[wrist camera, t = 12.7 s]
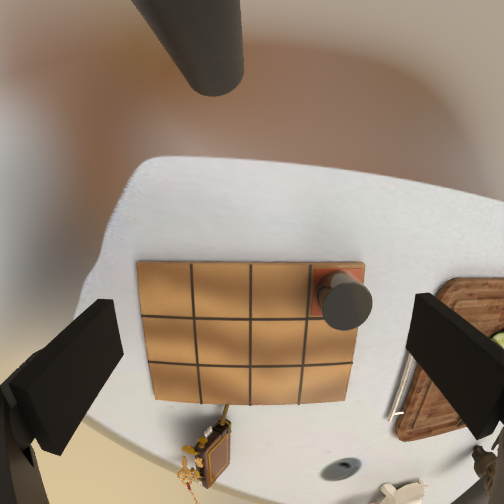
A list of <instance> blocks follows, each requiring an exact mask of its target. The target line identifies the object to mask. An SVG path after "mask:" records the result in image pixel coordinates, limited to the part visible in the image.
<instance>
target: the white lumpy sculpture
mask: <svg viewBox="0 0 504 504" xmlns="http://www.w3.org/2000/svg"><path fill="white" fill-rule="evenodd" d="M427 487H428V486H427V485H424V483H423V481H421V480H420V479H419V480H418V484H416V483H414V484H408V485H406V486H403V487H402V488H400V489H398V490H396V489H395V488H394V487H393V486H392V485H391V484H388V483H385V484H383V486H382V487H381V491H382V492H383V493H384V494H385V495H386V497H385V498H384V499H383V500H382V502H381V503H370V504H420V503H421V501H422V497H423V496H424V490H425V489H426V488H427Z"/></svg>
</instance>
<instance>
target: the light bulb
mask: <svg viewBox="0 0 504 504" xmlns="http://www.w3.org/2000/svg"><path fill="white" fill-rule="evenodd" d="M472 457H473V459H474V461H475V463H474V470H475V472H476V474H477V475H478V477H480V478H482V477H484V476H486V475H487V476H488V477H487V479H486V480H485V483H484V487H485V488H486V491H487V493H489V496H490V494H491V489H492V485H493V479H494V474H495V468H496V462H497V457H496V455H495V454H494V453H492V452H486V451H485V450H484V449H483V448H482V446H476V447H475V448H474V452H473V454H472Z"/></svg>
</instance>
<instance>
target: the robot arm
mask: <svg viewBox="0 0 504 504" xmlns="http://www.w3.org/2000/svg"><path fill="white" fill-rule="evenodd" d="M406 349H407V350H408V351H409V353H410V354H411V355H412V356H413V358H414V359H415V360H416V361H417V363H418V364H419V365H420V366H421V368H422V369H423V370H424V371H425V373H426V374H427V375H428V376H429V378H430V379H431V380H432V381H433V383H434V384H435V385H436V386H437V388H438V389H439V390H440V392H441V393H442V394H443V396H444V397H445V398H446V399H447V401H448V402H449V403H450V405H451V406H452V407H453V409H454V410H455V411H456V413H457V414H458V415H459V417H460V418H461V419H462V421H463V422H464V423H465V425H466V426H467V427H468V429H469V430H470V431H471V433H472V434H473V436H474V437H475V438H476V440H479V439H481V438H484V437H486V436H488V435H490V434H492V433H493V432H494V430H495V428H496V426H497V424H498V422H499V421H501V422H502V423H503V425H504V349H503V347H502V346H501V345H499V344H498V343H497V342H496V341H494V340H492V339H489V338H488V337H487V336H486V335H484V334H483V333H482V332H481V331H479V330H478V329H477V328H476V327H474V326H473V325H472V324H470V323H469V322H468V321H467V320H465V319H464V318H463V317H461V316H460V315H459V314H457V313H456V312H455V311H453V310H452V309H451V308H449V307H448V306H447V305H445V304H444V303H443V302H441V301H440V300H439V299H437V298H436V297H435V296H433V295H432V294H431V293H420V294H416V295H415V302H414V308H413V313H412V319H411V324H410V329H409V334H408V339H407V344H406ZM123 355H124V353H123V348H122V344H121V339H120V334H119V329H118V324H117V319H116V313H115V308H114V302H113V299H97V300H96V301H95V302H94V303H93V304H92V305H91V306H89V307H88V308H87V309H86V310H85V311H84V312H83V313H82V314H80V315H79V316H78V317H77V318H76V319H75V320H74V321H73V322H72V323H71V324H69V325H68V326H67V327H66V328H65V329H64V330H63V331H62V332H61V333H59V334H58V335H57V336H56V337H55V338H54V339H53V340H52V341H51V342H50V343H49V344H48V345H47V346H46V347H44V348H43V349H41V350H39V351H37V352H35V353H33V354H32V355H31V356H30V357H29V358H28V359H27V360H26V361H25V362H24V363H23V364H22V365H21V366H20V367H19V368H17V369H16V370H15V371H14V372H13V373H12V374H11V375H10V376H9V377H8V378H7V379H6V380H5V381H4V382H3V383H2V384H1V385H0V504H49V501H48V498H47V495H46V492H45V488H44V485H43V482H42V478H41V475H40V471H39V468H38V464H37V460H36V456H35V452H34V450H33V448H32V446H31V443H32V441H33V440H34V438H36V440H37V442H38V444H39V445H40V447H41V449H42V450H44V451H47V452H50V453H52V454H55V455H59V456H61V454H62V452H63V451H64V449H65V447H66V446H67V444H68V442H69V441H70V439H71V437H72V436H73V434H74V432H75V431H76V429H77V427H78V426H79V424H80V423H81V421H82V419H83V418H84V416H85V414H86V413H87V411H88V410H89V408H90V406H91V405H92V403H93V402H94V400H95V398H96V397H97V395H98V394H99V392H100V390H101V389H102V387H103V386H104V384H105V383H106V381H107V380H108V378H109V376H110V375H111V373H112V372H113V370H114V369H115V367H116V366H117V364H118V363H119V361H120V360H121V358H122V357H123ZM497 444H499V448H498V450H497V451H498V455H497V462H496V468H495V474H494V479H493V485H492V489H491V494H490V498H489V503H488V504H504V427H503V428H502V430H501V432H500V434H499V436H498V437H497V439H496V441H495V442H494V444H493V446H492V448H491V450H494V448H495V447H496V445H497Z"/></svg>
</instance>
